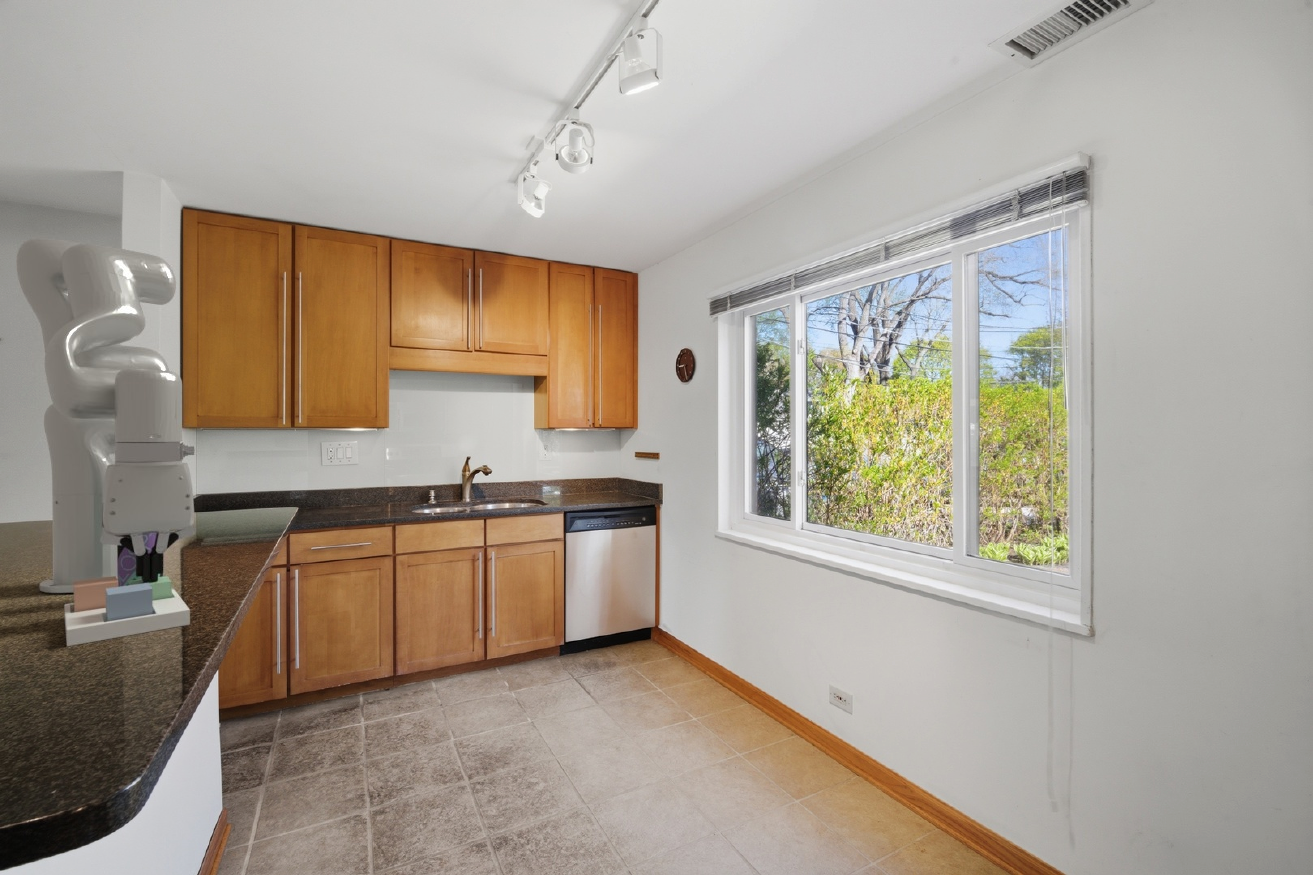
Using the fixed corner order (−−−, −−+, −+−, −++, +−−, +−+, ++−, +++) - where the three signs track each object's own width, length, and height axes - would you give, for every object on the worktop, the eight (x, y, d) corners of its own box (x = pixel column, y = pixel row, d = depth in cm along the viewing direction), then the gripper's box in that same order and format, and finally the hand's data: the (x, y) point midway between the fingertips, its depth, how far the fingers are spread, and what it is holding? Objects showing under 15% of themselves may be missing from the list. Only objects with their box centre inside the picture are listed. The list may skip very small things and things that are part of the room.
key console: (64, 618, 85) (64, 604, 84) (173, 601, 93) (173, 588, 93) (66, 646, 74) (66, 630, 74) (189, 624, 82) (189, 609, 82)
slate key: (105, 614, 81) (105, 588, 81) (148, 607, 84) (148, 582, 84) (108, 622, 78) (107, 595, 77) (152, 614, 81) (152, 588, 81)
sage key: (128, 604, 88) (128, 580, 88) (167, 598, 91) (167, 575, 91) (131, 611, 85) (131, 586, 85) (171, 605, 88) (171, 581, 88)
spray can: (109, 602, 92) (108, 471, 92) (129, 593, 98) (129, 469, 97) (152, 600, 94) (151, 471, 93) (169, 590, 99) (169, 468, 99)
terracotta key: (73, 606, 84) (73, 581, 84) (116, 600, 87) (115, 575, 87) (74, 613, 81) (74, 587, 81) (118, 606, 84) (118, 581, 84)
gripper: (207, 452, 96) (207, 567, 96) (77, 454, 85) (78, 584, 86) (217, 454, 91) (217, 576, 91) (79, 457, 80) (79, 595, 80)
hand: (149, 579), depth 88 cm, fingers closed
